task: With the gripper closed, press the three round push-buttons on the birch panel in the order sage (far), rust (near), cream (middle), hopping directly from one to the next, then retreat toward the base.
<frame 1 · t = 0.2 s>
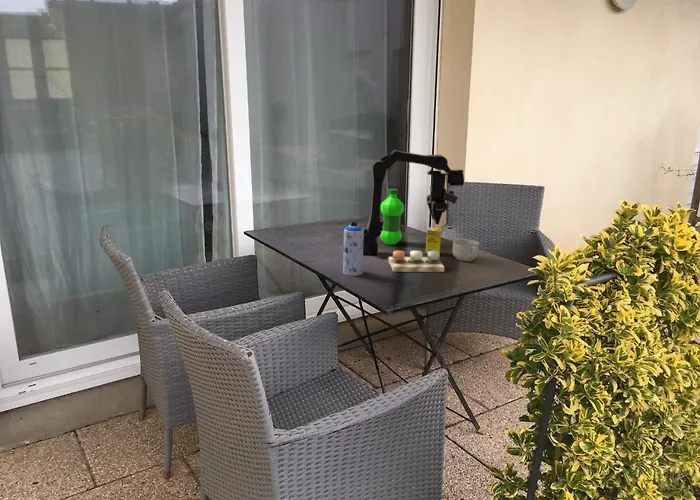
hand: (435, 221, 255), 14 cm above the table, tool pointing down, fingers open, 9 cm apart
cream button: (416, 255, 240), point 5 cm above the table, slide at 0.0 cm
aerosol can: (352, 272, 231), on the table
plastic bottle: (390, 243, 275), on the table
supplement box: (432, 254, 260), on the table
rust button: (398, 254, 239), point 5 cm above the table, slide at 0.0 cm
panel: (415, 266, 241), on the table
teacup: (465, 260, 252), on the table
sage button: (433, 255, 240), point 5 cm above the table, slide at 0.0 cm
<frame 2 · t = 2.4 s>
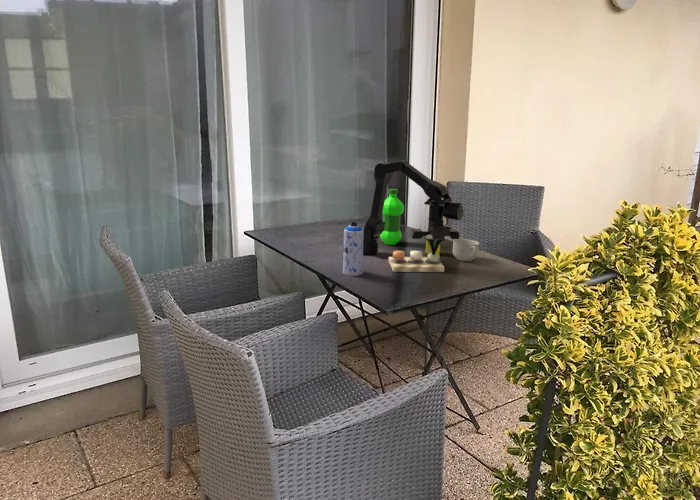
hand: (433, 254, 240), 5 cm above the table, tool pointing down, fingers closed, pressing on sage button
sage button: (433, 257, 241), point 4 cm above the table, slide at 1.1 cm, touching gripper
everything else where it was.
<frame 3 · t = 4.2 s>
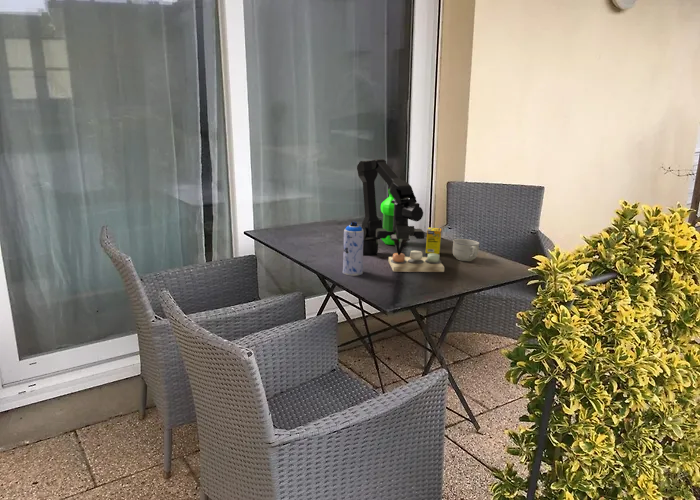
hand: (398, 254, 239), 5 cm above the table, tool pointing down, fingers closed, pressing on rust button
rust button: (398, 257, 240), point 4 cm above the table, slide at 1.1 cm, touching gripper
sage button: (433, 257, 241), point 4 cm above the table, slide at 1.1 cm
everything else where it was.
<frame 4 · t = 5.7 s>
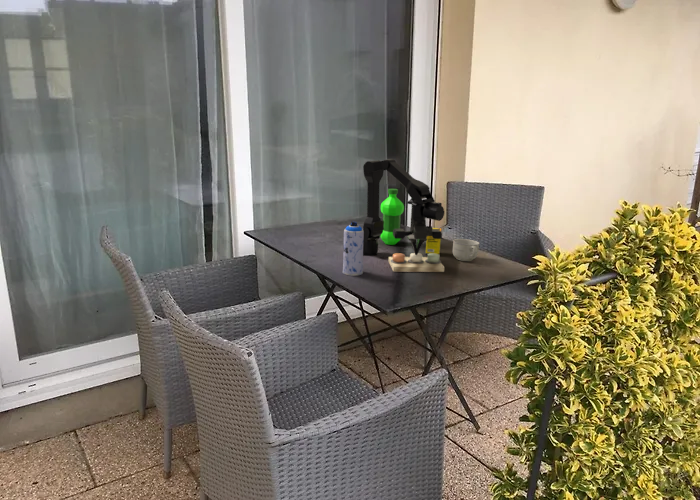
hand: (416, 254, 240), 5 cm above the table, tool pointing down, fingers closed, pressing on cream button
cream button: (416, 257, 240), point 4 cm above the table, slide at 1.0 cm, touching gripper
rust button: (398, 257, 240), point 4 cm above the table, slide at 1.1 cm
everything else where it was.
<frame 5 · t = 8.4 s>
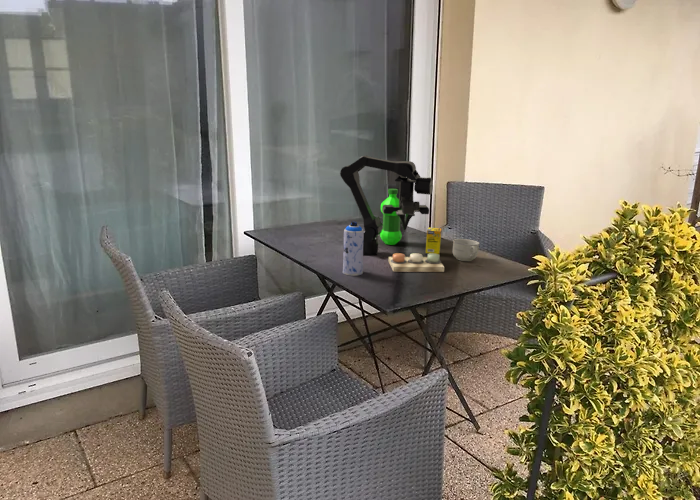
hand: (404, 229, 250), 12 cm above the table, tool pointing down, fingers closed
cream button: (416, 257, 240), point 4 cm above the table, slide at 1.1 cm
everything else where it was.
at the end: sage button slide at 1.1 cm; rust button slide at 1.1 cm; cream button slide at 1.1 cm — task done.
